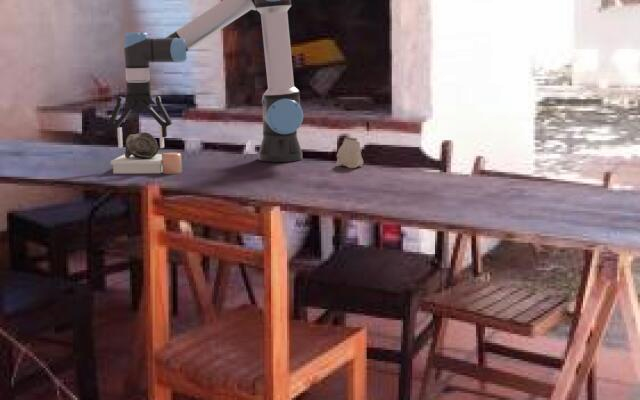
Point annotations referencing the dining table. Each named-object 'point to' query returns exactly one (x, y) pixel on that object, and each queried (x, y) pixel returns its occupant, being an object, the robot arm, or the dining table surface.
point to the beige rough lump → (350, 153)
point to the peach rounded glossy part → (171, 163)
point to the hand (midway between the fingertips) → (141, 147)
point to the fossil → (141, 146)
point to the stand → (137, 164)
